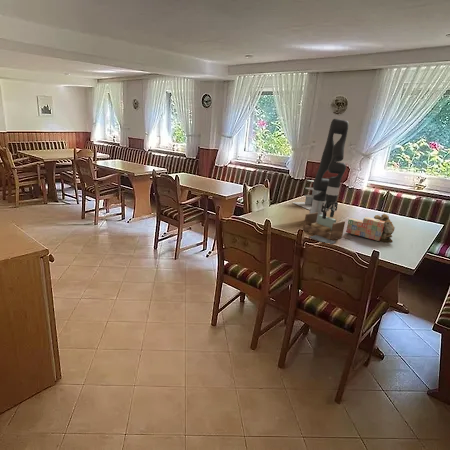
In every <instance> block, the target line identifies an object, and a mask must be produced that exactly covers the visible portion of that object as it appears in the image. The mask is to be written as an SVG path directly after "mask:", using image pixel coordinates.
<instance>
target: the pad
mask: <svg viewBox="0 0 450 450" xmlns="http://www.w3.org/2000/svg"><path fill="white" fill-rule="evenodd" d="M308 238H309V239H312V240H315V241H317V242H320V243H322V242H325V243H330V245H333V244H336V243H337V242H336V241H335V240H329V239H327V238H324V237H321V236H319V235H315V234H313V235H310V236H309V237H308Z"/></svg>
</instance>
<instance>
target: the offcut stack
mask: <svg viewBox="0 0 450 450" xmlns="http://www.w3.org/2000/svg"><path fill="white" fill-rule="evenodd" d="M311 226H312V227H314V228H317V229H320V230H323V231H326V232H328V233H331V231H330V230H331V228H329V227H326V226H323V225H321V224H318V223H317V222H316V223H312V224H311Z"/></svg>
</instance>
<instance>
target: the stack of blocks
mask: <svg viewBox="0 0 450 450" xmlns="http://www.w3.org/2000/svg"><path fill="white" fill-rule="evenodd" d="M346 225H347V227H346V230H345V232H346V233H347V234H352V235H356V236H359V237H362V238H366V239H370V240H374V241H377V242H381V241H380V238H381V236H382V233H383V230H384V226H385V221H382V220H379V219H374V217H369V216H365V217H364V218H363V219H359V218H354V217H349V219H348V220H347V224H346Z"/></svg>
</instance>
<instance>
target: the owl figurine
mask: <svg viewBox="0 0 450 450" xmlns="http://www.w3.org/2000/svg"><path fill="white" fill-rule="evenodd" d="M389 217H390V216H389V215H388V214H386V213H383V214H381V215H380V214H376V215H374V216H373V218H374V219H379V220H382V221H385V226H384V230H383V233H382V236H381V238H380V241H379V242H382V243H387V244H388V243H389V244H391V243H393V240H392V238H393V235H392V234H393V233H394V231H395V228H396V227H395V226H394V224H393V221H391V219H390V218H389Z"/></svg>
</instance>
